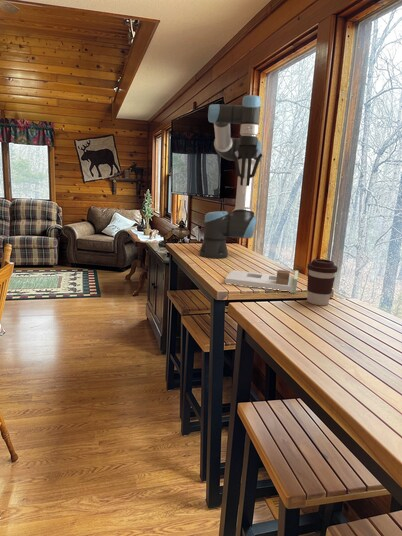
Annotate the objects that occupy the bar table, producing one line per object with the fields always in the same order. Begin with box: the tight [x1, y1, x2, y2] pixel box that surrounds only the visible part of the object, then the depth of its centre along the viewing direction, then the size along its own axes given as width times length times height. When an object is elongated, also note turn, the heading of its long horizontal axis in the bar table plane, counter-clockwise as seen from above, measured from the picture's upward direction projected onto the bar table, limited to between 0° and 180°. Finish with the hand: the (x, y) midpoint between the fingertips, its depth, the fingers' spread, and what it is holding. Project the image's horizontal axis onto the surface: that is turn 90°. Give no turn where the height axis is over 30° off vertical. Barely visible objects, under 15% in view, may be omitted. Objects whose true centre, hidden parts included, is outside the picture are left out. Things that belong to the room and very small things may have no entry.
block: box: [276, 269, 291, 285], centre depth 149 cm, size 4×4×4 cm
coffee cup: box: [306, 258, 338, 306], centre depth 134 cm, size 10×10×15 cm
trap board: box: [224, 269, 299, 294], centre depth 154 cm, size 15×27×5 cm, turn 75°
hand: (244, 193), depth 166 cm, fingers closed
